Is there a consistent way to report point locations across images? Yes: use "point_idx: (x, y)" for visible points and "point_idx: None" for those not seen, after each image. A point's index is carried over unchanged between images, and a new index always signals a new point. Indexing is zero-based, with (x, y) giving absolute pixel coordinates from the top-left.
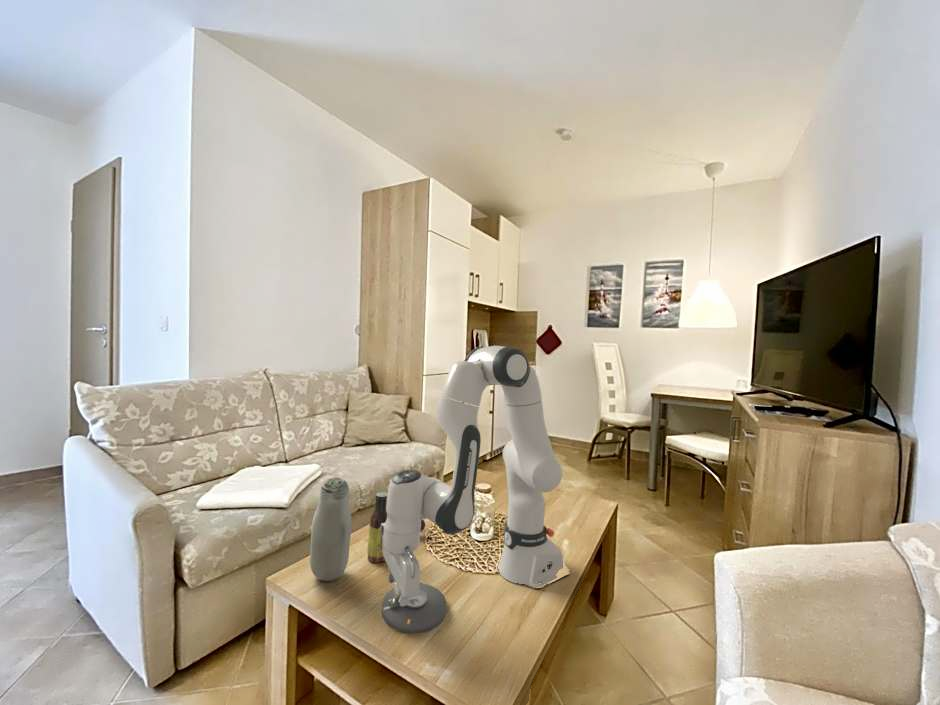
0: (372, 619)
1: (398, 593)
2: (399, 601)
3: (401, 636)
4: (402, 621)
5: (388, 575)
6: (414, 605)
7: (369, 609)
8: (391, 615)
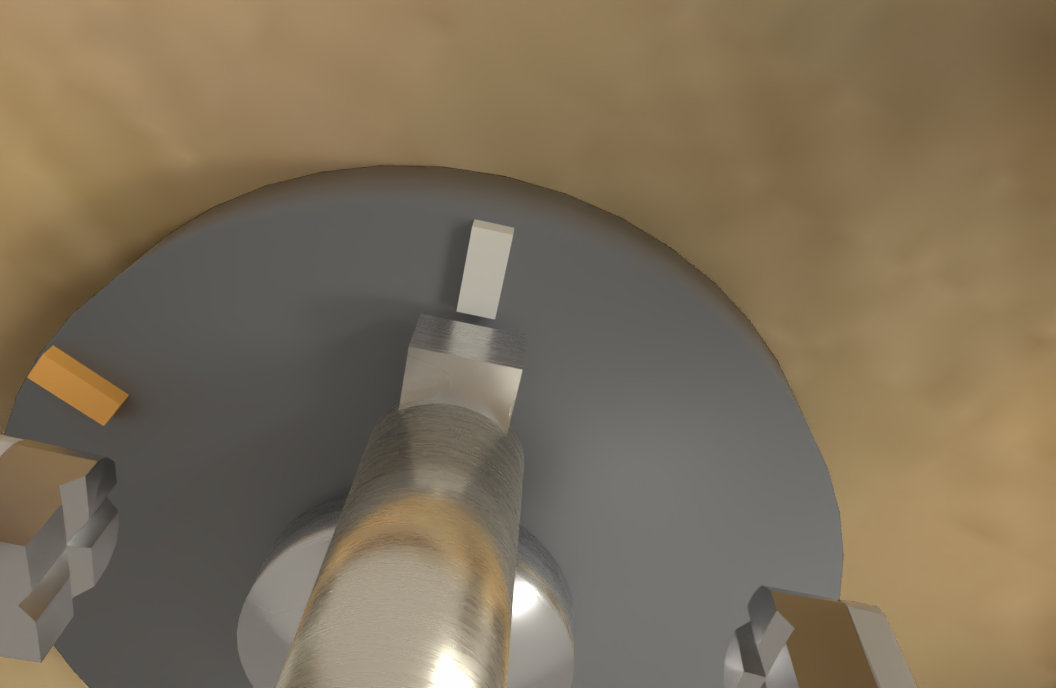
0: (560, 27)
1: (325, 559)
2: (22, 471)
3: (74, 216)
4: (133, 326)
5: (910, 674)
6: (259, 580)
7: (789, 88)
8: (318, 259)
